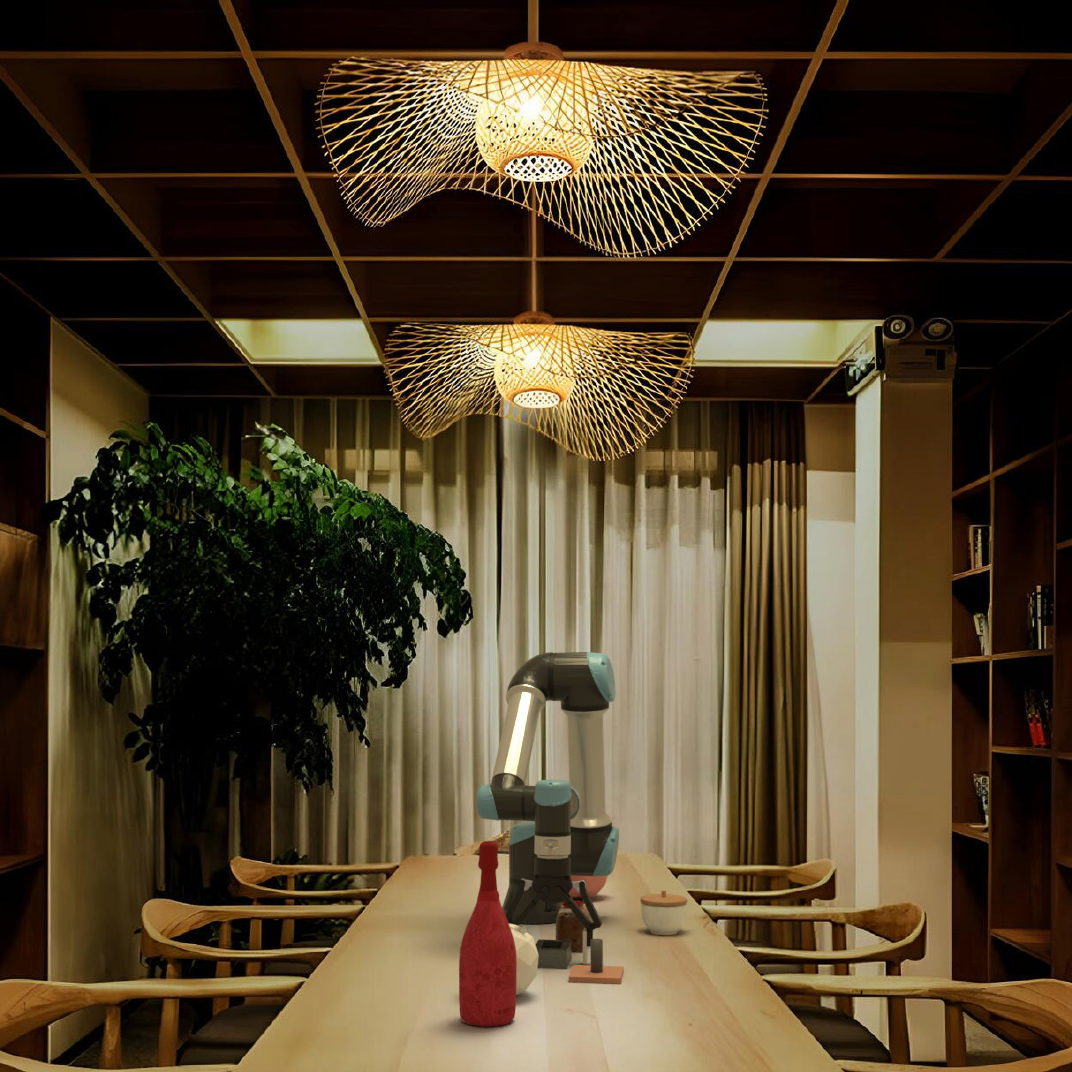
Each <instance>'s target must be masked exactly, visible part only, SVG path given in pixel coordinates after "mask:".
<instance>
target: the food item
mask: <svg viewBox="0 0 1072 1072" xmlns="http://www.w3.org/2000/svg"><path fill="white" fill-rule="evenodd" d="M574 901H575V903H576V904H577V905H578V906H579V908H580V909H581V910H582V911H583V913H584V914H585V915H586V916H587V918H588V919H589V920H590V921H591V923H592V922H593V920H592V918H591V916H590V914H589V912H588V910H587V908H586V906H585V903H584V901H583V902H582V901H581V900H578V899H577V900H574ZM560 908H561V909H560V910H559V913H558V915H557V918H556V922H554V924H555V940H572V953H583V930H584V929H586V928H585V927H584V925H583V924H582V923H581V922H580V920H579V919H578V918H577V917H576V915H575V914H574V913H573V912H572V910H571V909H570V908H569V907H568V906H567V905H566V904H565V902H564V901H563V902H562V906H561V907H560Z"/></svg>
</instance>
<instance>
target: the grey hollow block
mask: <svg viewBox="0 0 1072 1072" xmlns="http://www.w3.org/2000/svg"><path fill="white" fill-rule="evenodd" d="M535 945H536V948H537V952H538V967H537V969H539V968H541V969H542V968H543V969H567V968H568V967H569V965H570V962H571V960H572V957H573V956H572V954H573V952H572V940H556V939H539V938H538V939H537V941H536V942H535Z"/></svg>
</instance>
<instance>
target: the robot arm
mask: <svg viewBox="0 0 1072 1072" xmlns="http://www.w3.org/2000/svg"><path fill="white" fill-rule="evenodd" d="M615 681H616V680H615V673H614V669H613V665H612V662H611V660H610V658H609V656H608V655H607V654H605V653H600V652H592V651H581V652H579V651H578V652H576V651H575V652H574V651H573V652H572V651H571V652H553V651H551V652H543V653H539V654H537V655H534V656H533V657H531V658H529V659H528V660H527V661H526V662H524V663H523V664H522V665H521V666H520V667H519V669H517V671H516V672H515V674H513V676H512V678H511V680H510V682H509V684H508V687H507V691H506V694H505V702H506V703H507V710H506V715H505V718H504V723H503V728H502V732H501V737H500V740H499V741H500V742H499V746H498V749H497V753H496V758H495V762H494V767H493V772H492V775H491V782H490V783H487V784H482V785H479V788H477V794H476V799H475V802H476V803H475V804H476V811H477V815H478V816H479V818H481V819H482V820H491V821H496V822H497V821H498V822H499V821H523V822H519V823H515V824H514V825H512V826H511V828H510V830H509V843H508V856H509V857H508V858H509V859H508V862H509V863H508V869H509V871H508V883H509V884H508V888H507V891H506V895H505V898H504V901H503V904H502V909H503V911H504V914H505V916H506V918H507V921H508V923H509V924H514V925H517V926H520V924H528V925H530V924H531V925H532V924H533V925H535V924H536V925H540V924H550V923H556V918H557V915H558V913H559V910H560V909H561V908H560V907H561V906H562V903H564V902H565V904H566V905H567V906H568V907H569V908H570V909H571V910H572V912H573V913H574V914H575V915H576V917H577V918H578V919H579V920H580V922H581V923H582V924H583V925H584V927H585V928H586V929H584V930H583V952H582V965H588V964H587V963H588V961H589V960H588V959H589V958H588V956H589V955H588V954H589V953H588V949H589V947H590V948H591V939H594V930H596V929H600V928H601V926H602V924H603V921H602V920H601V917H600V915H599V913H598V912H597V909H596V907H595V905H594V903H593V900H592V899H591V898H592V897H591V898H590V896H589V894H588V892H587V889H586V881H585V880H581V881H576V882H572V880H571V875H575V876H593V877H595V876H608V877H609V876H610V875H612V874H613V871H614V870H615V865H616V862H617V855H618V850H619V840H620V833H619V832H620V829H619V828H618V827H617V826H613V819H612V817H611V816H610V815H609V814H607V812H606V783H605V781H606V779H605V750H604V749H605V748H604V747H605V746H604V745H605V742H604V741H605V740H604V715H605V713H607V711H608V710H609V709H610V703H612V702H614V701H615V698H616V682H615ZM546 702H560V710H561V711H562V712H563V713H564V714H565V715H566V716H567V743H568V745H567V746H568V747H567V750H568V779H569V780H563V779H541V780H538V781H537V782H536V783H535V785H526V783H527V782H526V781H527V776H528V771H529V768H530V767H529V766H530V763H531V761H530V760H531V757H532V752H533V747H534V741H535V736H536V732H537V728H538V720H539V716H540V712H541V711H543V710H544V708H545V707H546ZM572 887H574V888H575V889H576V891H577V892H580V895H581V897H582V898H581V899H582V901H583V902H584V905H585V906H586V908H587V910H588V912H589V914H590V916H591V918H592V920H593V922H592V923H591V921H590V920H589V919H588V918H587V916H586V915H585V914H584V913H583V911H582V910H581V909H580V908H579V906H578V905H577V904H576V903H575V901H576V900H575V899H573V898H572V897H571V896H570V895H569V892H570V890H571V889H572ZM521 927H522V926H520V928H521Z"/></svg>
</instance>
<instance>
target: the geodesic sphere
mask: <svg viewBox="0 0 1072 1072" xmlns="http://www.w3.org/2000/svg"><path fill="white" fill-rule="evenodd" d="M509 926H510V928H511V931H512V935H513V938H514V942H515V947H516V962H517V974H516V996H517V995H520V994H523V993H525V992H526V991H527V989H528V988H529V986H530V985H531V984H532V982H533V981H534V980H535V979H536V977H537V975H538V968H537V967H538V952H537V948H536V945H535V944H536V942H535V939H534V936H532V935H531V934H530V933H528V932H527V931H528V929H529V928H528V927H527V926H524V925H523V926H521V925H518V926H517V925H514V924H509ZM520 927H521V928H520Z"/></svg>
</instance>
